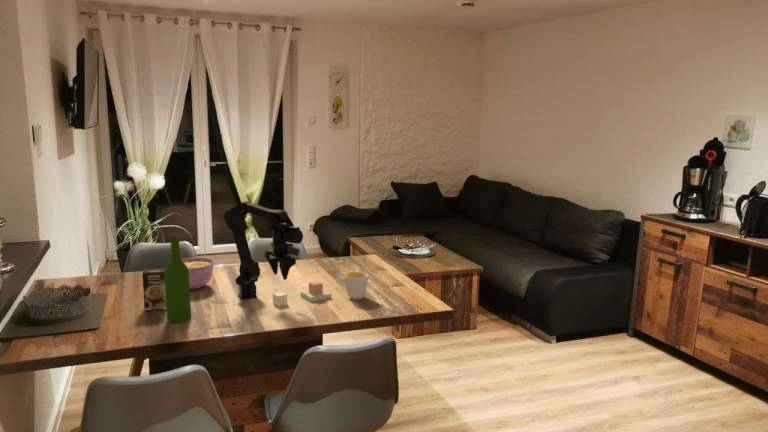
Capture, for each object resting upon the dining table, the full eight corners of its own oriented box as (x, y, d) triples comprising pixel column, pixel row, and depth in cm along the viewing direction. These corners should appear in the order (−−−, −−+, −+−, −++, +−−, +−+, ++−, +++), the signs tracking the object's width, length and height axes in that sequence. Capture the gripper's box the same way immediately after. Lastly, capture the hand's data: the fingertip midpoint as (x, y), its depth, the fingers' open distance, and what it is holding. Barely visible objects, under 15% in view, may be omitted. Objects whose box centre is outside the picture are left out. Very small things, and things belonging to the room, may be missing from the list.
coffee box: (144, 311, 239) (141, 273, 236) (146, 306, 245) (143, 268, 242) (167, 309, 241) (165, 271, 238) (169, 304, 247) (166, 267, 244)
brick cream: (277, 306, 246) (277, 296, 245) (273, 303, 250) (272, 293, 249) (287, 304, 248) (287, 294, 248) (282, 301, 252) (282, 291, 251)
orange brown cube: (313, 294, 255) (313, 285, 254) (308, 292, 259) (308, 282, 258) (322, 293, 257) (322, 283, 257) (318, 290, 261) (317, 280, 260)
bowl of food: (221, 281, 280) (220, 258, 278) (205, 294, 261) (203, 269, 259) (181, 280, 282) (180, 256, 280) (162, 292, 263) (160, 267, 261)
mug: (371, 300, 255) (371, 276, 253) (349, 302, 251) (349, 279, 249) (361, 291, 267) (361, 268, 266) (339, 293, 264) (339, 271, 262)
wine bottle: (183, 314, 236) (178, 235, 230) (195, 319, 230) (191, 238, 224) (162, 320, 229) (157, 238, 223) (175, 325, 223) (170, 242, 217)
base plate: (310, 302, 252) (310, 297, 251) (300, 296, 260) (300, 291, 259) (331, 298, 257) (331, 293, 257) (320, 292, 265) (320, 288, 265)
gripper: (307, 242, 241) (307, 279, 244) (287, 234, 256) (288, 269, 259) (282, 246, 235) (283, 283, 238) (263, 237, 250) (264, 272, 253)
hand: (280, 276), depth 247 cm, fingers open, 9 cm apart
